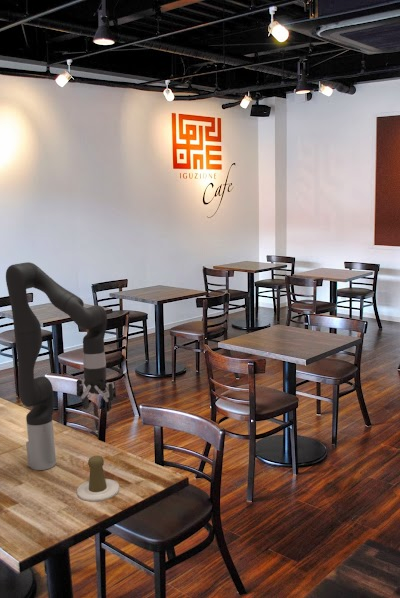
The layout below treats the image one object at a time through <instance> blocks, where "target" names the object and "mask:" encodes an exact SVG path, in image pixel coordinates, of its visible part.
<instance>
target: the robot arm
mask: <svg viewBox="0 0 400 598" xmlns="http://www.w3.org/2000/svg"><path fill="white" fill-rule="evenodd" d="M5 282H6V288H7V292H8V296H9V297H8V298H9V301H10V306H11V312H12V321H13V331H14V342H15V349H16V357H17V371H18V372H17V375H18V376H17V378H18V379H17V381H18V383H17V385H18V387H17V388H18V395H19V400H20V402H21V404H22V405H24V407H27V408H31V407H32V409H31V410H30V411H29V412H27V414H26V417H25V421H26V430H27V441H26V442H25V443H26V445H25V446H26V456H27V466H28V467H29V468H31V469H32V470H34V471H45V470H49V469H51V468H54V467H55V466H56V465H57V459H56V445H55V444H56V443H55V434H54V432H55V431H54V422H53V415H54V411H55V409H54V389H53V385H52V383H51V381H50V379H49V378H47V376H38V377H35V376H34V371H35V365H36V362H37V359H38V356H39V355H40V351H41V350H42V349H41V348H42V345H43V336H42V327H41V324H40V321H39V319H38V318H37V316H36V315H35V312H34V311H33V310H32V308H31V307H30V304H29V301H28V300H29V299H28V296H27V295H28V294H27V289H32V288H33V289H36V290H38V291H41V292H43V293H44V294H45V295H46V297H47V298H48V300H49V301H50V303H51V304H52V305H53V306H54V307H55V308H56V309H58V310H59V311H61V312H62V313H64V314H66V315H68V316H69V318H70V319H71V320H72V321H73V322H74V323H75V324H76V325H77V326H78V327H79V328H81V329H84V330H88V332H87V334H85V335H84V336H83V338H82V350H83V351H82V352H83V355H82V363H83V364H82V365H83V378H82V377H81V378H79V379H78V380H76V396H77V398H79V397H80V398H81V399H82V400H81V401H82V403H81V404H82V407H83V409H84V410H87V409H89V407H90V405H89V403H90V402H89V401H90V400H89V397H88V396H89V395H90V394H91V395H94V394H95V395H100V397H101V398H103V400H104V401H105V402H104V410H105V413H108V412H110V411H111V410H112V402H113V401H114V400H115V399H117V392H116V391H117V390H116V383H115V382H114V381H112V382H107V381H108V380H107V362H106V359H107V358H106V353H105V352H106V351H105V342H104V340H105V336H106V331H107V324H108V315H107V312H106V310H105V308H104V307H103V306H101V305H93V306H90V307H84V301H83V298H81V297H80V296H78V295H77V294H75V293H72V292H71V291H70V290H68V289H66V288H64V287H63V286H62V285H60V284H59V283H58V282H56V281H55V280H54V279H53V278H52V277H50V275H48V274H47V273H46V272H45V271H44V270H42V269H41V268H40V267H39V266H38V265H36V264H34V263H33V262H27V261H26V262H21V263H20V262H19V263H14V264H11V265H9V266H8V267H7V269H6V271H5ZM84 386H85V387H86V388H85V390H84Z"/></svg>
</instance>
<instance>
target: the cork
mask: <svg viewBox="0 0 400 598" xmlns="http://www.w3.org/2000/svg"><path fill="white" fill-rule="evenodd" d="M104 463H105V460H104V457H103V456H101V455H93V456H90V457H89V459H88V460H87V465H88V467H89V476H88V477H89V478H88V481H89V491H91V492H101V491H104V490H105V489H106V488H107V486H106V481H105V479H106V477H105V473H104V467H103V466H104V465H105V464H104Z"/></svg>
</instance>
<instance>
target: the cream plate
mask: <svg viewBox="0 0 400 598" xmlns="http://www.w3.org/2000/svg"><path fill="white" fill-rule="evenodd" d="M105 481H106V486H107V488H106V489H105V490H104V491H101V492H91V491H89V480H88V481H85V482H83V483H82V484H80V485H79V486H78V487H77V489H76V494H77V497H78V498H79V499H81V500H82V501H85V502H103V501H107V500H109V499H112V498H113V497H115V496H116V495H117V494H118V493H119V491H120V485H119V483H118V482H117V481H116V480H114V479H111V478H110V479H109V478H105Z"/></svg>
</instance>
